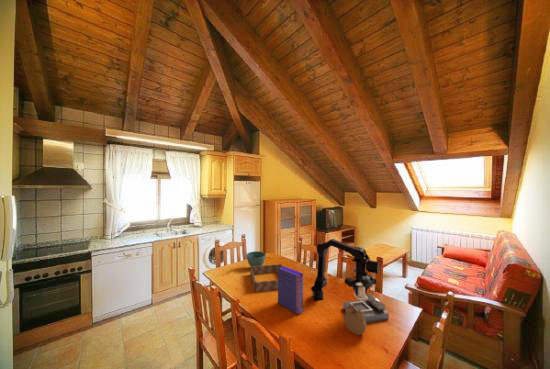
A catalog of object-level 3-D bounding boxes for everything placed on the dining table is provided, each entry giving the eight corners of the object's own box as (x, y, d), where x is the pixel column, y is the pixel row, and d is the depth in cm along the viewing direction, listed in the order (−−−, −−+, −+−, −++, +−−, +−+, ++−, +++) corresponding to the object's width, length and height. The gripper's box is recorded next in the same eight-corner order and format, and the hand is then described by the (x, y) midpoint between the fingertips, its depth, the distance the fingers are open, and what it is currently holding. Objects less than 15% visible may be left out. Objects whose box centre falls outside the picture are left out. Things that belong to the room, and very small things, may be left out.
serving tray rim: (254, 292, 151) (254, 282, 151) (250, 274, 181) (250, 266, 181) (291, 288, 158) (291, 278, 158) (281, 271, 187) (281, 263, 187)
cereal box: (303, 311, 129) (303, 273, 129) (298, 314, 126) (298, 275, 126) (282, 300, 141) (282, 265, 141) (277, 303, 138) (278, 267, 138)
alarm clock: (367, 335, 108) (367, 307, 108) (363, 341, 105) (363, 311, 105) (346, 325, 116) (346, 299, 116) (342, 330, 112) (342, 303, 112)
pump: (359, 300, 122) (359, 288, 122) (351, 293, 130) (351, 282, 130) (368, 299, 124) (368, 287, 124) (359, 292, 132) (359, 281, 132)
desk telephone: (358, 325, 117) (358, 309, 117) (343, 308, 132) (343, 294, 132) (388, 319, 121) (388, 304, 121) (370, 304, 137) (370, 290, 137)
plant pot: (242, 266, 197) (242, 254, 197) (257, 262, 210) (257, 250, 210) (254, 273, 184) (254, 259, 184) (269, 267, 196) (269, 254, 196)
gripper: (355, 276, 116) (355, 304, 116) (383, 273, 120) (383, 300, 120) (344, 268, 127) (344, 294, 127) (370, 266, 131) (370, 290, 131)
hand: (360, 294), depth 126 cm, fingers closed on pump, 5 cm apart
